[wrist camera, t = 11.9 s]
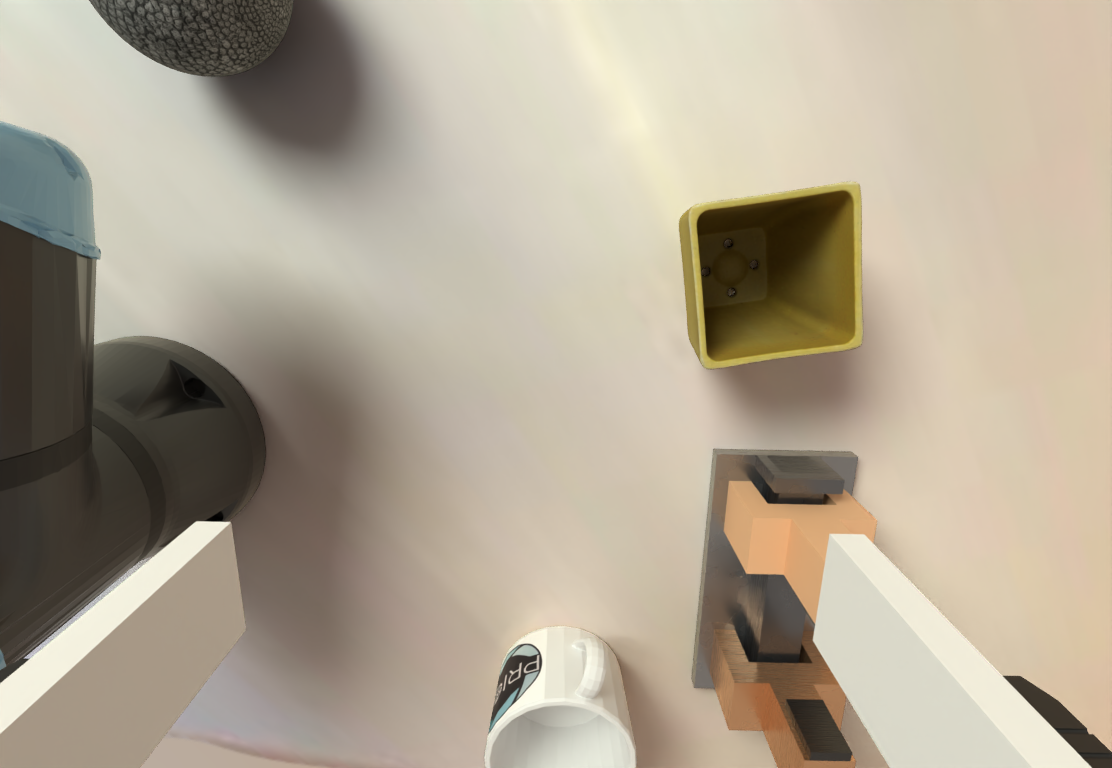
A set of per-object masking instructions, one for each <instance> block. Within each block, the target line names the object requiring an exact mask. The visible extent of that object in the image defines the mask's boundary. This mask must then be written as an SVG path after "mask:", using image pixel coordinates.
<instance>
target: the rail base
mask: <svg viewBox="0 0 1112 768" xmlns="http://www.w3.org/2000/svg"><path fill="white" fill-rule="evenodd" d="M857 461H858V457H857V456H856V455H855V454H854V453H852V452H839V451H788V450H737V449H713V459H712V470H711V480H710V491H709V501H708V512H707V522H706V533H705V543H704V554H703V564H702V574H701V585H700V595H699V606H698V616H697V627H696V637H695V648H694V658H693V669H692V682H693V685H694V688H715V690H716V693H717V696H718V699H719V702H720V705H721V708H722V711H723V714H724V717H725V720H726V723H727V726H728V729H729V730H752V731H763V732H764V734H765V737H766V739H767V742H768V744H769V747H770V749H771V752H772V754H773V757H774V759H775V762H776V764H777V767H778V768H855V763H856V761H855V759H854V757H853V755H852V752H851V750H850V748H849V746H848V745H847V743H846V741H845V739H844V737H843V736H842V734H841V732H840V729H841V724H842V718H843V713H844V707H845V702H846V695H845V693H844V691H843V690H842V688H841V686H840V685H839V683H838V681H837V680H836V678H835V677H834V675H833V673H832V672H831V670H830V668H829V667H828V665H827V663H826V662H825V660H824V658H823V657H822V655H821V653H820V652H819V650H818V648H817V647H816V645H815V643H814V642H813V635H814V629H815V626H814V625H813V623H812V621H811V620H810V618H809V617H808V615H807V613H806V612H805V610H804V609H803V607H802V606H801V604H800V602H799V598H798V596H797V595H796V593H795V592H794V590H793V589H792V587H791V585H790V584H789V582H788V581H787V579H786V577H785V576H784V575H779V574H746V572H745V570H744V568H743V566H742V564H741V563H740V561H739V559H738V557H737V555H736V553H735V551H734V549H733V547H732V546H731V544H730V542H729V540H728V538H727V536H726V534H725V532H724V523H725V514H726V504H727V495H728V485H729V481H751V482H752V483H753V484H754V486H755V487H756V488H757V490H758V491H759V493H760V494H761V495H762V497H763V498H764V499H765V501H766V502H767V503H768V504H806V505H822V504H823V498H824V494H843V489H844V490H846V491H847V492H848V493H849V494H850V495H851V496H852V491H853V485H854V479H855V473H856V467H857Z"/></svg>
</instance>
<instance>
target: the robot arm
mask: <svg viewBox="0 0 1112 768" xmlns="http://www.w3.org/2000/svg"><path fill="white" fill-rule="evenodd" d="M100 257H101V252H100V249H99V248H98V247H97V246H96V243H95V230H94V216H93V191H92V182H91V178H90V176H89V173H88V171H87V169H86V167H85V165H84V164H83V163H82V161H81V160H80V159H79V158H78V157H77V155H76V154H75V153H73V152H72V151H71V150H70V149H69V148H68V147H66V146H65V145H63V144H62V143H60V142H58V141H57V140H55V139H53V138H51V137H48V136H46V135H43V134H40V133H37V132H34V131H31V130H28V129H25V128H21V127H18V126H15V125H12V124H8V123H5V122H2V121H0V768H140V767H141V766H142V765H143V763H144V762H145V760H147V758H148V757H149V756H150V754H151V753H152V752H153V750H154V749H155V748H156V746H157V745H158V744H159V743H160V741H161V740H162V739H163V737H164V736H165V735H166V733H167V732H168V731H169V730H170V728H171V727H172V726H173V724H174V723H175V722H176V720H177V719H178V718H179V717H180V715H181V714H182V713H183V711H184V710H185V709H186V707H187V706H188V705H189V703H190V702H191V701H192V700H193V698H194V697H195V696H196V694H197V693H198V692H199V690H200V689H201V688H202V687H203V685H204V684H205V683H206V681H207V680H208V679H209V677H210V676H211V675H212V673H213V672H214V671H215V670H216V668H217V667H218V666H219V664H220V663H221V662H222V660H223V659H224V658H225V657H226V655H227V654H228V653H229V651H230V650H231V649H232V647H233V646H234V645H235V643H236V642H237V641H238V640H239V638H240V637H241V636H242V634H243V633H244V632H245V630H246V624H245V617H244V609H243V602H242V595H241V588H240V581H239V574H238V567H237V560H236V552H235V545H234V538H233V531H232V524H231V522H228V521H229V520H230V519H231V518H233V517H234V516H235V515H236V514H237V513H238V512H239V511H240V510H241V509H242V508H243V507H244V506H245V505H246V504H247V503H248V502H249V500H250V499H251V498H252V496H253V495H254V493H255V491H256V489H257V487H258V485H259V483H260V480H261V477H262V474H263V470H264V464H265V440H264V434H263V429H262V426H261V422H260V419H259V417H258V414H257V412H256V410H255V408H254V406H253V404H252V402H251V400H250V399H249V397H248V395H247V394H246V392H245V391H244V390H243V388H242V387H241V386H240V384H239V383H238V382H237V381H236V380H235V379H234V378H233V377H232V376H231V375H230V374H229V373H228V372H227V371H226V370H225V369H224V368H223V367H222V366H220V365H219V364H218V363H217V362H215V361H214V360H212V359H211V358H209V357H208V356H206V355H205V354H203V353H201V352H199V351H197V350H195V349H193V348H191V347H189V346H187V345H184V344H181V343H178V342H176V341H172V340H168V339H163V338H158V337H149V336H133V337H124V338H118V339H115V340H111V341H107V342H103V343H100V344H96V345H94V318H95V285H96V259H100ZM154 555H155V556H154ZM151 556H154V557H153V558H151V559H150V560H149V561H148V562H147V563H145V564H144V565H143V566H142V567H140V568H139V569H138V570H137V571H136V572H134V573H133V574H132V575H131V576H130V577H128V578H127V579H126V580H125V581H124V582H122V583H121V584H120V585H119V586H118V587H116V588H115V589H114V590H113V591H111V592H110V593H109V594H108V595H107V596H105V597H104V598H103V599H102V600H101V601H99V602H98V603H97V604H96V605H95V606H93V607H92V608H91V609H90V610H88V611H87V612H86V613H85V614H84V615H82V616H81V617H80V618H79V619H78V620H76V621H75V622H74V623H73V624H72V625H70V626H69V627H68V628H67V629H66V630H64V631H63V632H62V633H61V634H59V635H58V636H57V637H56V638H55V639H53V640H52V641H51V642H50V643H49V644H47V645H46V646H45V647H44V648H43V649H41V650H40V651H39V652H38V653H36V654H35V655H34V656H33V657H32V658H30V659H23V658H24V657H26V656H27V655H28V654H29V653H30V652H32V651H33V650H34V649H35V648H36V647H38V646H39V645H40V644H41V643H42V642H44V641H45V640H46V639H47V638H48V637H49V636H51V635H52V634H53V633H54V632H55V631H57V630H58V629H59V628H60V627H61V626H63V625H64V624H65V623H66V622H67V621H69V620H70V619H71V618H72V617H73V616H75V615H76V614H77V613H78V612H79V611H81V610H82V609H83V608H84V607H85V606H87V605H88V604H89V603H90V602H91V601H93V600H94V599H95V598H96V597H97V596H99V595H100V594H101V593H102V592H103V591H104V590H106V589H107V588H108V587H109V586H110V585H112V584H113V583H114V582H115V581H116V580H118V579H119V578H120V577H121V576H122V575H124V574H125V573H126V572H127V571H128V570H129V569H131V568H132V567H133V566H134V565H136V564H137V563H138V562H139V561H141V560H143V559H146V558H149V557H151ZM813 642H814V643H815V645H816V647H817V648H818V650H819V652H820V653H821V655H822V657H823V658H824V660H825V662H826V663H827V665H828V667H829V668H830V670H831V672H832V673H833V675H834V677H835V678H836V680H837V681H838V683H839V685H840V686H841V688H842V690H843V691H844V693H845V695H846V696H847V698H848V700H849V701H850V703H851V705H852V706H853V708H854V710H855V711H856V713H857V715H858V716H859V718H860V720H861V721H862V723H863V724H864V726H865V728H866V729H867V731H868V733H869V734H870V736H871V738H872V739H873V741H874V743H875V744H876V746H877V748H878V749H879V751H880V753H881V754H882V756H883V758H884V759H885V761H886V762H887V764H888V766H889V767H890V768H1112V752H1111V751H1110V750H1109V749H1108V748H1107V747H1106V746H1105V745H1104V744H1102V743H1101V742H1100V741H1099V740H1098V739H1097V738H1096V737H1095V736H1094V735H1092V734H1089V733H1088V732H1087V728H1086V727H1085V726H1084V725H1083V724H1082V723H1081V722H1080V721H1079V720H1078V719H1076V718H1075V717H1074V716H1073V715H1072V714H1071V713H1070V712H1069V711H1068V710H1067V709H1066V708H1065V707H1064V706H1063V705H1062V704H1061V703H1060V702H1059V701H1058V700H1056V699H1055V698H1053V697H1052V696H1050V695H1049V694H1047V693H1046V692H1044V691H1042V690H1041V689H1039V688H1038V687H1036V686H1035V685H1033V684H1032V683H1030V682H1029V681H1027V680H1026V679H1024V678H1022V677H1021V676H1002V675H1001V674H1000V673H999V672H998V671H997V670H996V669H995V668H994V667H993V666H992V665H991V664H990V663H989V662H988V661H987V660H986V659H985V658H984V657H983V656H982V654H981V653H980V652H979V651H978V650H977V649H976V648H975V647H974V646H973V645H972V644H971V643H970V642H969V641H968V640H967V639H966V638H965V637H964V636H963V635H962V634H961V633H960V632H959V631H958V630H957V629H956V628H955V627H954V626H953V625H952V624H951V623H950V622H949V621H948V620H947V619H946V618H945V617H944V616H943V614H942V613H941V612H940V611H939V610H938V609H937V608H936V607H935V606H934V605H933V604H932V603H931V602H930V601H929V600H928V599H927V598H926V597H925V596H924V595H923V594H922V593H921V592H920V591H919V590H918V589H917V588H916V587H915V586H914V585H913V584H912V583H911V582H910V581H909V580H908V579H907V578H906V577H905V576H904V574H903V573H902V572H901V571H900V570H899V569H898V568H897V567H896V566H895V565H894V564H893V563H892V562H891V561H890V560H889V559H888V558H887V557H886V556H885V555H884V554H883V553H882V552H881V551H880V550H879V549H878V548H877V547H876V546H875V545H874V544H873V543H872V542H871V541H870V540H869V539H868V538H867V537H866V536H865V534H829V540H828V546H827V553H826V559H825V566H824V572H823V578H822V585H821V591H820V597H819V604H818V610H817V616H816V623H815V629H814V635H813Z"/></svg>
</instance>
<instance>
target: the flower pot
mask: <svg viewBox="0 0 1112 768" xmlns="http://www.w3.org/2000/svg"><path fill="white" fill-rule="evenodd" d="M679 232H680V242H681V252H682V262H683V273H684V285H685V297H686V311H687V326H688V336H689V340H690V342H691V345H692V347H693V348H694V350H695V352H696V354H697V356H698V358H699V360H700V362H701V364H702V366H703V367H704V368H706V369H718V368H724V367H731V366H736V365H741V364H747V363H754V362H760V361H766V360H773V359H780V358H787V357H796V356H804V355H813V354H821V353H828V352H839V351H846V350H851V349H855V348H857V347H860V346H861V345H862V341H863V307H862V205H861V190H860V185H859V184H858V183H856V182H842V183H836V184H831V185H824V186H818V187H812V188H806V189H799V190H793V191H786V192H779V193H771V194H765V195H758V196H751V197H744V198H737V199H728V200H721V201H714V202H707V203H701V204H696V205H694V206H693V207H691V208H690V209H689V210H687V211H686V212H685V213H684V214H683V215H682V216H681V218H680V221H679ZM727 239H730V240H731V241H732V246H731V247H729V248H726V247H725V246H724V242H725V240H727ZM753 260H755V261H757V262H758V266H757V268H755V269H752V268H751V267H750V262H751V261H753ZM705 267H707V268H709V270H710V273H709V275H707V276H704V275H703V274H702V272H701V271H702V269H703V268H705ZM730 288H734V289H735V294H734V295H733V296H729V295H728V294H727V291H728V289H730Z"/></svg>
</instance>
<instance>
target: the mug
mask: <svg viewBox="0 0 1112 768" xmlns="http://www.w3.org/2000/svg"><path fill="white" fill-rule="evenodd" d="M484 761H485V768H636V765H637V758H636V746H635V741H634V736H633V731H632V726H631V721H630V716H629V710H628V705H627V700H626V695H625V690H624V685H623V680H622V675H621V670H620V666H619V663H618V661H617V658H616V655H615V654H614V653H613V651H612V650H611V649H610V647H609V646H608V645H607V644H606V643H605V642H604V641H602V640H601V639H600V638H598V637H597V636H596V635H594V634H592V633H590V632H587V631H585V630H582V629H580V628H574V627H568V626H553V627H545V628H542V629H539V630H535V631H532V632H530V633H529V634H527V635H525V636H524V637H522V638H520V639H519V640H518V641H517V642H516V643H515V644H514V645H513V646H512V647H511V648H510V649H509V650H508V652H507V654H506V656H505V657H504V659H503V661H502V665H501V670H500V676H499V681H498V686H497V691H496V696H495V702H494V707H493V712H492V717H491V722H490V728H489V733H488V738H487V743H486V749H485V754H484Z"/></svg>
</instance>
